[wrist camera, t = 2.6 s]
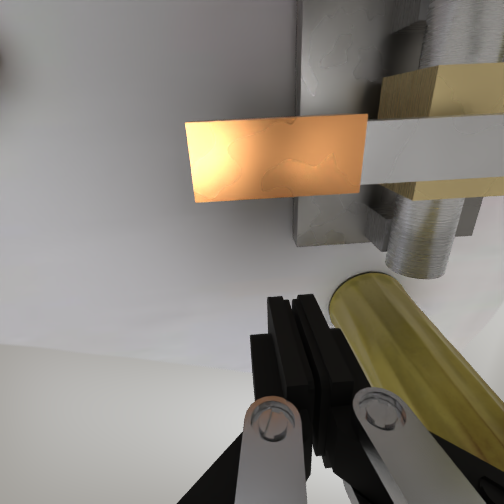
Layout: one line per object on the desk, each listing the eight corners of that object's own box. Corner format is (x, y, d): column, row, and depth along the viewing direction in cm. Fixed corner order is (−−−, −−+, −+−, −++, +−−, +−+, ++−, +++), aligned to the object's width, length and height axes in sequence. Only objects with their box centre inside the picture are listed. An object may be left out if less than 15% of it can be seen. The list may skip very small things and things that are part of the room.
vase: (314, 299, 23) (413, 526, 11) (383, 256, 22) (593, 456, 9) (349, 344, 26) (467, 577, 13) (414, 308, 24) (616, 527, 12)
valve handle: (562, 99, 10) (620, 97, 8) (535, 173, 11) (582, 182, 9) (191, 117, 9) (184, 118, 8) (201, 192, 10) (196, 205, 9)
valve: (297, -16, 15) (369, -157, 7) (524, -24, 15) (831, -165, 8) (292, 238, 21) (329, 314, 13) (456, 227, 22) (588, 295, 14)
